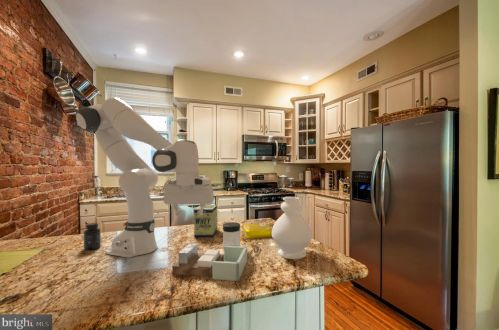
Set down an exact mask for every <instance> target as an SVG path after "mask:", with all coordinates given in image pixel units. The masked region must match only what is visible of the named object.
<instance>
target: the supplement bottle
mask: <svg viewBox="0 0 499 330" xmlns="http://www.w3.org/2000/svg"><path fill="white" fill-rule="evenodd" d="M85 228H86V229H85V230H84V232H83V250H84V251H86V250H90V251H95V250H98V249H99V248H101V247H102V243H101V241H102V240H101V239H102V237H101V236H102V235H101V229H100V228H99V223H98V222H91V223H86V224H85Z"/></svg>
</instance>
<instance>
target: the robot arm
mask: <svg viewBox="0 0 499 330" xmlns="http://www.w3.org/2000/svg"><path fill="white" fill-rule="evenodd" d="M75 120H76V123H77V124H78V126H79V127H80V129H82V130H83V131H84V132H88V133H91V132H92V133H93V132H95V138H96V140H97V142H98V145H99V146H100V148H101V150H102V151H103V152H104V154H105V155H106V156H107V158H108V160H109V161H110V162H111V164H112V165H113V166H114V167H115V168H116V169H118V170H119V171H120V172H122V173H121V174H120V175H119V178H118V186H119V188H120V189H121V190H122V192H123V194H124V197H125V200H126V201H125V202H126V205H127V221H126V222H124V223H123V224H122V227H124V226H125V227H124V229H123V230H122V231H121V232H119V233H118V234H117V235H116V236H115V237H113V239H112V242H111V247H109V248H107V249H106V250H105V255H112V256H117V257H123V258H134V257H136V256H141V255H146V254H150V253H152V252H154V251H156V250H158V244H157V240H156V235H155V223H156V222H155V218H154V202H153V200H152V199H151V198H152V197H151V193H150V190H151V189H153V188H154V187H155V186H156V185H157V183H158V182H159V175H158V174H157V172H159V173H175V180H166V182H165V183H164V184H163V189H164V190H163V203H164V204H165V205H171V207H172V208H173V210H174V213H175V216H180V215H182V212H181V209H179V207H178V206H179V205H199V206H200V207H201V209H200V210H199V211H197V213H198V215H203V209H204V207H205V205H212V203H214V200H215V194H214V189H213V186H212V185H211V183H212V179H211V178H209V177H206V176H203V175H200V170H199V161H200V160H199V150H198V146H197V143H196V142H194V141H193V140H188V139H183V138H182V139H181V138H180V139H177V140H176V141H175V142H174V143H171V142H170V141H169V140H167V139H166V138H165V137H164V136H163V135H162V134H160V133H159V132H158V131H157V130H156V129H155V128H154V127H153V126H152V125H150V123H148V122H147V121H146V120H145V119H144V117H142V116H141V114H139V112H137V111H136V110H135V109H134V108H133V107H132V106H130V105H129V104H128V103H126V102H125V101H123V100H122V99H120V98H118V97H110V98H107V99H105V100H104V101H103V102H100V103H98V104H97V103H96V104H93V105H92V104H91V105H89V106H83V107H81V108H79V109H77V110H76V113H75ZM126 138H127V139H129V140H134V141H136V142H137V141H138V142H141V143H144V144H147V145H149V146H151V147H152V148H154V149H155V150H156V151H155V152H154V153H153V155H152V158H151V163H152V166H153V168H154V169H152V168H151V167H150V166H149V165H148V164H147V163H146V161H144V159H142V158H141V157H140V156H139V155H138V153H137V152H136V151H135V149H134V148H133V147H132V145H131V144H130V143H129V141H128V140H127V139H126ZM155 170H156V171H155Z"/></svg>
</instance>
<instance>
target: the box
mask: <svg viewBox="0 0 499 330" xmlns="http://www.w3.org/2000/svg"><path fill="white" fill-rule="evenodd" d="M223 254H224V261H223V262H222V261H213V262H212V273H213V277H212V280H217V281H218V280H219V281H229V282H231V281H233V282H235V281H236V282H240V280H241V277H242V275H243V273H244V269H245V268H246V265H247V263H248V247H247V246H240V247H236V246H224V251H223Z"/></svg>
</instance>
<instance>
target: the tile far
mask: <svg viewBox="0 0 499 330" xmlns="http://www.w3.org/2000/svg"><path fill="white" fill-rule="evenodd" d="M220 253H221V250H220V249H209V248H208V249H207V250H206V251H205V252H204V255H211V256H215V260H217V258H218V257H219V255H220Z"/></svg>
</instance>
